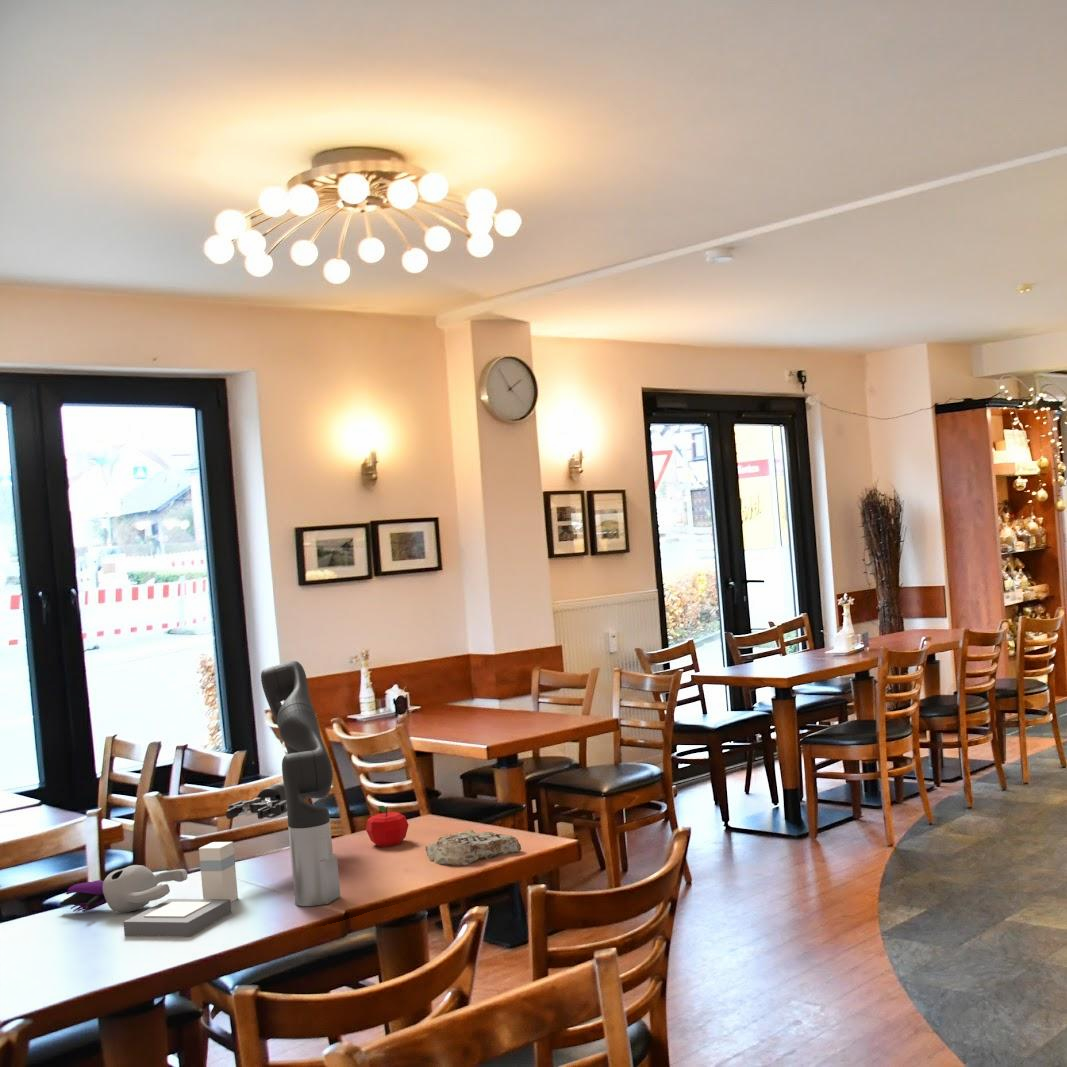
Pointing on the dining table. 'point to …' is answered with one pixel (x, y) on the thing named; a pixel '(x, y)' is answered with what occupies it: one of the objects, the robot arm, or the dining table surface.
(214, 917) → the podium
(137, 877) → the figurine
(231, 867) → the carton
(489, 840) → the stone
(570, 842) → the dining table surface
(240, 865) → the dining table surface
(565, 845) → the dining table surface
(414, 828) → the dining table surface
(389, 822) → the apple
